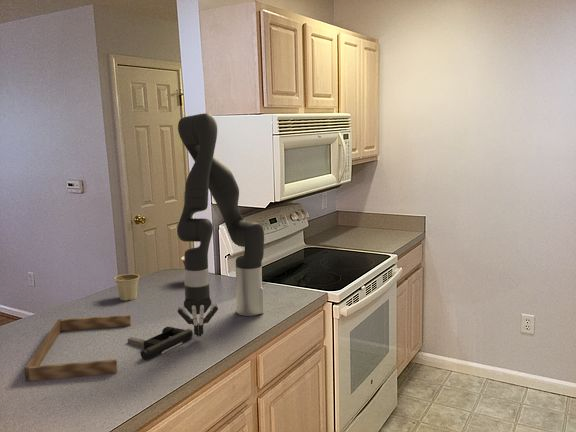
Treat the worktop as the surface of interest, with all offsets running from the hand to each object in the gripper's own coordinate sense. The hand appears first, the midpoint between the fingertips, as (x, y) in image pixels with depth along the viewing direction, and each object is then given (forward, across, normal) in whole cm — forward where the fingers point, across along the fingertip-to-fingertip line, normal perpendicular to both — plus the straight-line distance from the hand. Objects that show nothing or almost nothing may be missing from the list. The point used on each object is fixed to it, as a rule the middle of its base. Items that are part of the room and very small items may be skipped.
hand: (198, 335), depth 160 cm
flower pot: (+2, +26, -47) cm, 54 cm away
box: (+2, +33, 0) cm, 33 cm away
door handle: (+2, +13, 0) cm, 13 cm away
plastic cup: (+2, 0, -63) cm, 63 cm away
